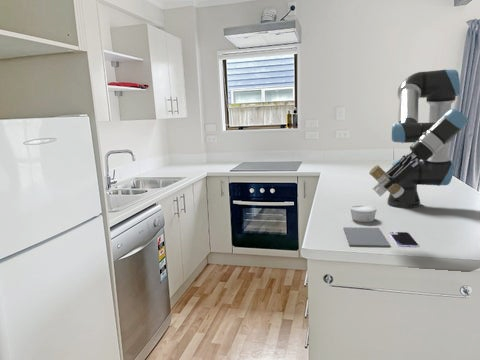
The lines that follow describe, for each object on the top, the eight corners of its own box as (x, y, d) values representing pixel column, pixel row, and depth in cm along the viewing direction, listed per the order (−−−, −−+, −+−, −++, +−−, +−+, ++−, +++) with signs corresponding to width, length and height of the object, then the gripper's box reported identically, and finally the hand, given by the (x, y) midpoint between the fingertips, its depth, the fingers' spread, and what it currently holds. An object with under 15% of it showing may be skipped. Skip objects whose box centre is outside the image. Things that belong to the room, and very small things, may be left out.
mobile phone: (397, 244, 126) (387, 231, 140) (397, 247, 126) (387, 233, 141) (420, 245, 124) (408, 231, 139) (420, 248, 125) (408, 234, 139)
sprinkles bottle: (373, 171, 128) (400, 197, 129) (380, 163, 130) (406, 188, 130) (366, 174, 133) (392, 199, 133) (372, 166, 134) (398, 190, 134)
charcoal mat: (343, 228, 148) (343, 227, 148) (378, 229, 145) (378, 227, 145) (349, 246, 128) (349, 244, 128) (390, 247, 126) (390, 245, 126)
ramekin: (362, 214, 167) (362, 203, 166) (381, 220, 157) (382, 208, 156) (344, 218, 162) (344, 207, 161) (363, 224, 152) (363, 212, 151)
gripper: (410, 137, 135) (364, 180, 141) (426, 141, 118) (373, 190, 124) (424, 151, 135) (378, 193, 141) (442, 157, 118) (389, 205, 124)
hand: (376, 192), depth 133 cm, fingers closed on sprinkles bottle, 4 cm apart
